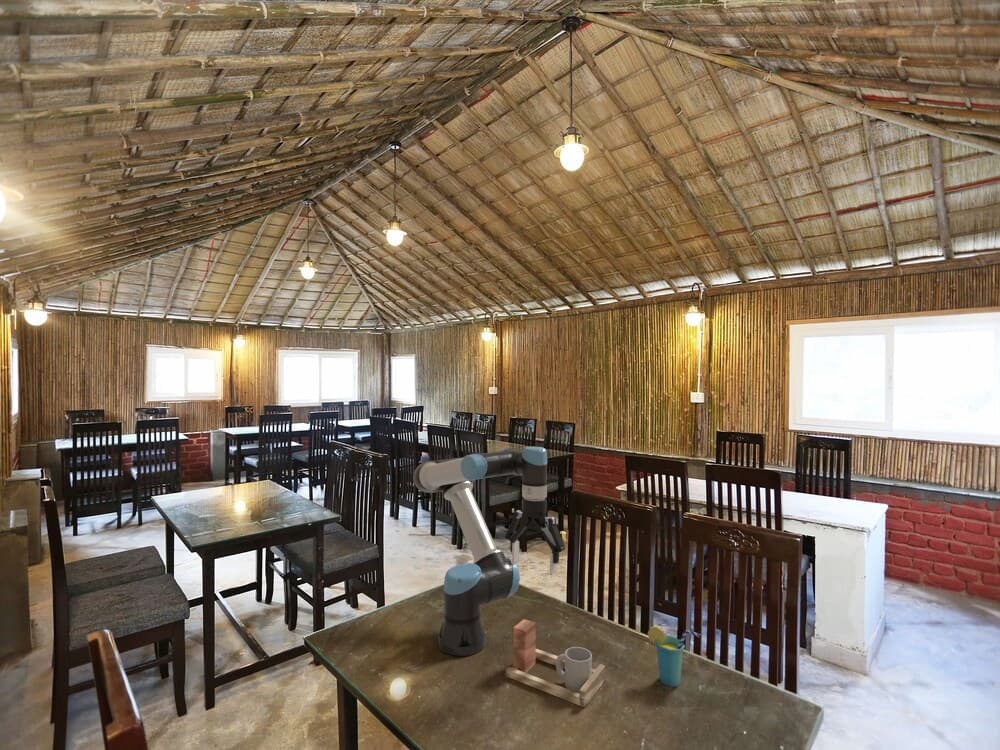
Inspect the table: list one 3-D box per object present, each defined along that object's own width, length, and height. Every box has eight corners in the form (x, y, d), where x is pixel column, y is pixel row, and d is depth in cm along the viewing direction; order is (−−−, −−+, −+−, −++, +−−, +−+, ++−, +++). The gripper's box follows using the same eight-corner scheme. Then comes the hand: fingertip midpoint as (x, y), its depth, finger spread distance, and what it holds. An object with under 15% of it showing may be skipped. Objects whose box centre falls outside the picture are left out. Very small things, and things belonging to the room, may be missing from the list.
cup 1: (587, 698, 129) (587, 664, 129) (551, 688, 133) (551, 654, 133) (594, 683, 135) (594, 650, 135) (560, 673, 139) (560, 642, 139)
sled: (505, 676, 138) (506, 633, 138) (530, 653, 149) (530, 613, 150) (585, 707, 125) (585, 660, 125) (605, 680, 136) (605, 636, 136)
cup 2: (699, 679, 137) (699, 625, 137) (701, 695, 130) (701, 639, 130) (647, 668, 142) (648, 617, 142) (646, 684, 135) (646, 629, 135)
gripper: (494, 494, 153) (493, 562, 153) (564, 507, 138) (563, 582, 138) (508, 490, 159) (507, 555, 159) (576, 502, 144) (576, 574, 144)
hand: (533, 568), depth 149 cm, fingers open, 13 cm apart
